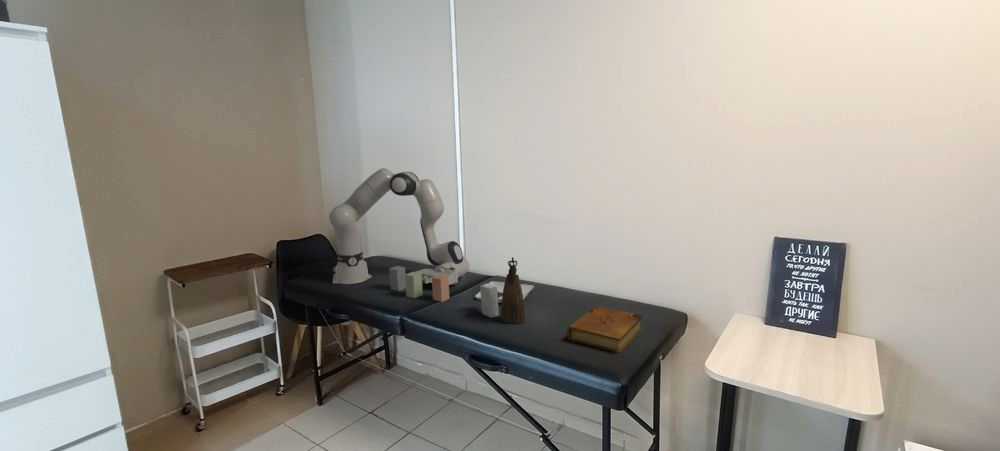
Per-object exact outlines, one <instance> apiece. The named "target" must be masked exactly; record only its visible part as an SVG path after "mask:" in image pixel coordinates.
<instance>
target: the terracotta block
mask: <svg viewBox="0 0 1000 451" xmlns="http://www.w3.org/2000/svg"><path fill="white" fill-rule="evenodd" d="M431 288H432V300H433V301H437V302H441V303H442V302H444V301H447V300H449V299H450V285H449V277H448V276H445V275H440V274H439V275H437V276H434V277H432V283H431Z"/></svg>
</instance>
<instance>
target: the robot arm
mask: <svg viewBox="0 0 1000 451" xmlns="http://www.w3.org/2000/svg"><path fill="white" fill-rule="evenodd" d="M389 191H391V192H392V193H393V194H394V195H396V196H401V197H405V196H414V198H415V199H416V201H417V204H418V206H419V208H420V209H419V210H420V220H419V224H420V227H421V228H420V229H421V232H422V236H423V241H424V244H425V248H426V257H427V260H428V262H429V263H430V264H431V265H432V266H435V268H434V269H433V268H432V269H431V268H423V269H419V270H416V271H415V272H417V273H421V274H422V284H429V283H431V284H432V277H434V276H437V275H439V274H440V275H445V276H448V277H449V286H451V285H454V284H457V283H458V282H459V278H460V277H462V276H464V275H465V274H467V272H468V271H469V270H470V262H469V260H468V258H466V257H465V256H464V254H463V250H462V247H461V245H459V243H458V242H456V241H454V240H450V241H448V242H444V243H441V244H439V243H438V241H437V236H436V233H435V229H434V228H435V225H436V223H437V222H438V220H439V219H440V218H441V217H442V216H443V213H444V211H445V206H444V202H443V200H442V198H441V195H440V192H439V190H438V188H437V187H436V185H435V184H434V182H433V181H432V180H431V179H428V178H427V179H425V178H424V179H421V180H420V179H419V178H418V176H417V174H415V173H414V172H412V171H401V172H398V173H395V174H394V173H393V172H392V171H391V170H389V169H388V168H385V167H384V168H383V167H382V168H379V169H378V170H376V171H375V172H374V173H372V174H371V175H370V176H369V177H367V178H366V179H365V180H364V181H363V182H362V183H361V184H360V185H359V186H358V187H357V188H356V189H355V190H354V191H353V192H352V194H351V195H350V196H349V197H348V198H347V199H346V200H345V201H344V202H342V203H341V204H338V205H336V206H335V207H333V209H332V210H331V211H330V213H329V217H328V219H329V222H330V224H331V225H332V228H333V230H334V234H335V236H336V244H337V245H336V246H337V255H336V256H337V263H336V266H334V267H333V272H334V274H333V277H332V284H340V285H341V284H342V285H354V284H359V283H362V282H365V281H367V280H369V279H371V278H372V275H371V274H370V273H368V272H369V271H368V265H367V264H368V262H367V261H366V260H364V252H363V251H362V239H361V238H362V237H361V235H360V233H359V230H358V228H357V222H358V221H359V220H361V218H362V217H363V216H365V215H366V213H367V212H369V210H370V209H371V208H372V207H373V206H375V204H376V203H377V202H379V201H380V200H381V199H382V198H383V197H384V196H385V195H386V194H387V193H388V192H389Z"/></svg>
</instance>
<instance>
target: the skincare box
mask: <svg viewBox="0 0 1000 451" xmlns="http://www.w3.org/2000/svg"><path fill="white" fill-rule="evenodd" d="M489 283H490V282H489ZM489 283H488V282H487V283H484V284H481V285H480V287H479V289H480V291H481V300H480V301H481V302H480V304H481V306H480V307H481V314H482V315H484V316H486V317H489V318H494V317H498V316H499V303H498V297H499V296H498V292H497V286H494V285H491V284H489ZM480 291H479V292H480Z"/></svg>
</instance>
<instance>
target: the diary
mask: <svg viewBox="0 0 1000 451" xmlns="http://www.w3.org/2000/svg"><path fill="white" fill-rule="evenodd" d="M642 319H643V314H637V313H634V312H628V311H624V310H618V309H614V308H613V309H612V308H609V307H603V306H598V305H595V306H594V307H593V308H591V309H590V310H589V311H588V312H587V313H585V314H584V315H583V316H582V317H580V318H579V319H578V320H577V321H574V323H572V324H571V325H570V326H569V327H568V328H567V329H566V330H567V333H566V334H567V335H566V336H567V340H568V341H569V340H571V341H570V342H573V341H575V342H574V343H577V342H580V343H579V344H581V343H583V344H582V345H584V344H587V345H586V346H588V345H591V346H590V347H592V346H595V347H594V348H596V347H599V348H598V349H600V348H603V349H602V350H604V349H606V350H605V351H608V350H610V351H609V352H612V351H614V352H613V353H616V352H618V353H617V354H621V352H622V351H623V350H624V349H625V348H626V347H627V344H628V345H629V344H630V343H631V341H632V340H633V339H634V338H635V337H636V336H637V335H638V334H639V332H641V330H642V329H643V327H642V326H641V320H642ZM636 334H637V335H636ZM635 335H636V336H635ZM634 336H635V337H634Z"/></svg>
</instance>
